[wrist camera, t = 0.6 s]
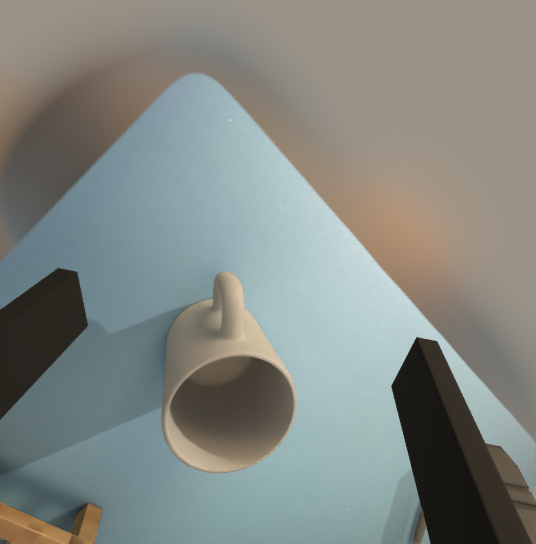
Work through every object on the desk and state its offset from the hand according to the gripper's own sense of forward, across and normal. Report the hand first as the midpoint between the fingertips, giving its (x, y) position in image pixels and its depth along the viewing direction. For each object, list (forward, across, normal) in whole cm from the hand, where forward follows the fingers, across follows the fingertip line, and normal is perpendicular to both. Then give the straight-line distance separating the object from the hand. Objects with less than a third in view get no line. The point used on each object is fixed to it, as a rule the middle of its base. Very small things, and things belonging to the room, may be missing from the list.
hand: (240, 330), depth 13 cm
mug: (+13, -4, -12) cm, 18 cm away
